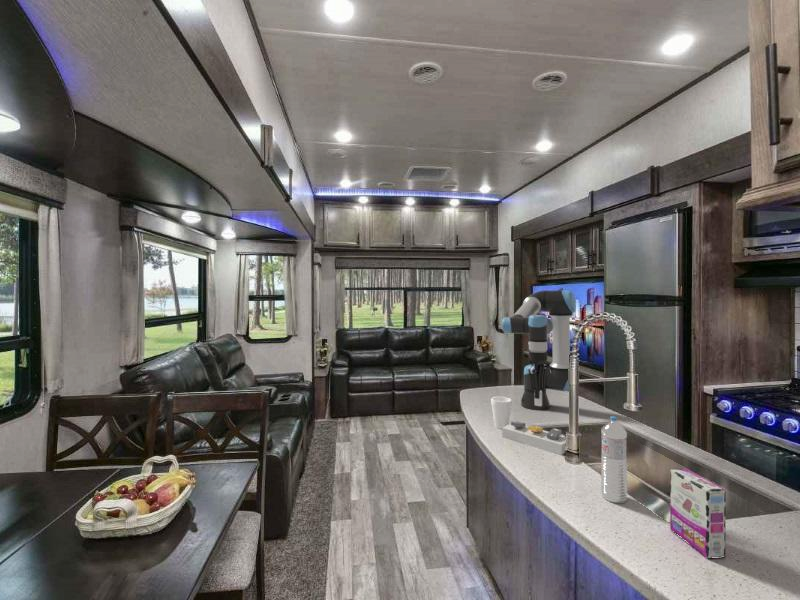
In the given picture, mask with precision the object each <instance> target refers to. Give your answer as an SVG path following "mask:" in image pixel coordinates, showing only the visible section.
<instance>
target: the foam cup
mask: <svg viewBox="0 0 800 600" xmlns="http://www.w3.org/2000/svg"><path fill="white" fill-rule="evenodd" d="M490 404H491V408H492V409H491V411H492V417H493V418H492V419H493V424H494V428H496V429H500V430H502V428H503V427H505V426H507V425H509V424H510V415H511V408H512V399H511V397H510V398H509V397H506V396H493V397H491V398H490Z"/></svg>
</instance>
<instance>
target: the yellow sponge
mask: <svg viewBox="0 0 800 600" xmlns="http://www.w3.org/2000/svg"><path fill="white" fill-rule="evenodd" d="M527 426H528V430H531V431H535V432H543V430H544V428H543V427H539V426H536V425H527Z"/></svg>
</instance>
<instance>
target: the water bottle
mask: <svg viewBox="0 0 800 600" xmlns="http://www.w3.org/2000/svg"><path fill="white" fill-rule="evenodd" d="M609 418H610V419H609V420H610V421H608V422H607V423H605V424H604V425H603V426H602V427H601V429H600V433H601V455H600V459H601V460H600V462H601V466H600V470H601V471H600V472H601V473H600V475H601V476H600V477H601V482H600V483H601V484H600V485H601V486H600V487H601V496H602V498H604V500H606V501H609V502H610V503H614V504H624V503H626V502H627V499H628V482H627V481H628V456H627V438H628V433H627V430H626V429H625V428H624V427H623V425H622V424H620V423H619V422H618V417H617V416H615V415H612V416H611V415H610V417H609Z"/></svg>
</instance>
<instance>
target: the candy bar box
mask: <svg viewBox="0 0 800 600" xmlns="http://www.w3.org/2000/svg"><path fill="white" fill-rule="evenodd" d="M726 492H727V490H726V489H725V488H723V487H721V486H719V485H718V484H715V483H714V482H712V481H710V480H708V479H707V478H704V477H702V476H701V475H698V474H697V473H695V472H693V471H692V470H689V469H687V468H677V469H675V468H673V469H670V492H669V493H670V496H669V497H670V499H669V500H670V505H669V506H670V515H669V516H670V520H669V521H670V522H669V523H670V525H669V526H670V529H671V530H672V531H674V532H675V533H676V534H678V535H679V536H681V537H682V538H683V539H684V540H686V541H687V542H688V543H689V544H690V545H691V546H693V547H694V548H695V549H696V551H697V552H698V551H699V552H700V553H699V552H698V553H699V554H701V555H702V556H703V555H704V556H703V557H705V558H706V557H707V558H712V557H722V556H725V557H726V518H727V517H726V515H727V514H726V511H727V510H726V505H727V504H726V499H727V498H726V497H727V494H726ZM670 529H669V530H670ZM671 530H670V531H671ZM672 531H671V532H672ZM676 534H675V535H676ZM684 540H683V541H684ZM688 543H687V544H688ZM689 544H688V545H689ZM690 545H689V546H690ZM691 546H690V547H691ZM693 547H692V548H693ZM694 548H693V549H694ZM695 549H694V550H695ZM707 558H706V559H707Z"/></svg>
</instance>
